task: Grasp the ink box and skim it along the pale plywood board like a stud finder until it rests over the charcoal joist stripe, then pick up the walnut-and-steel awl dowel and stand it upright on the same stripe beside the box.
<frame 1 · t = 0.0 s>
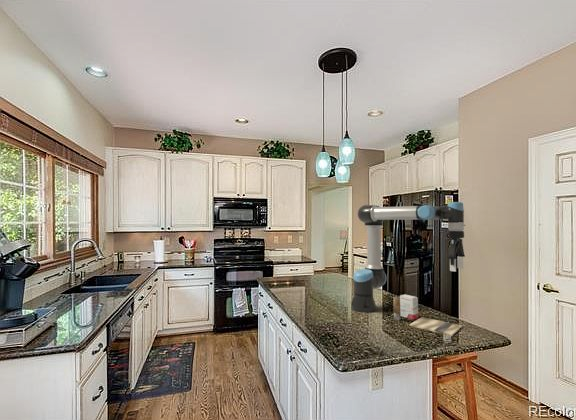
hand: (456, 269, 163), 28 cm above the countertop, fingers open, 13 cm apart
ink box: (409, 317, 171), on the countertop
subfloor board: (435, 326, 156), on the countertop
awl dowel: (396, 319, 166), on the countertop
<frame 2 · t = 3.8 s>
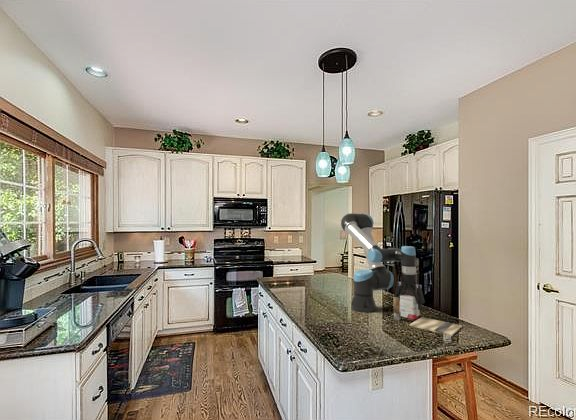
hand: (409, 313, 171), 2 cm above the countertop, fingers closed on ink box, 9 cm apart
ink box: (409, 317, 171), on the countertop, touching gripper
everything else where it was.
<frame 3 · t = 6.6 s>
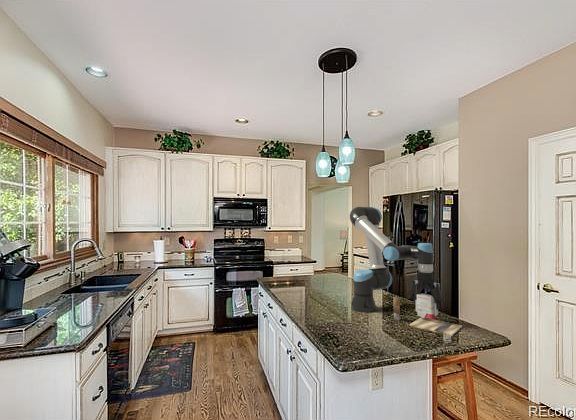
hand: (426, 313, 164), 4 cm above the countertop, fingers closed on ink box, 9 cm apart
ink box: (426, 317, 164), point 2 cm above the countertop, touching gripper
everything else where it was.
when the fingers open (3 cm above the countertop, at t = 9.5 s): ink box stays where it is, resting on subfloor board.
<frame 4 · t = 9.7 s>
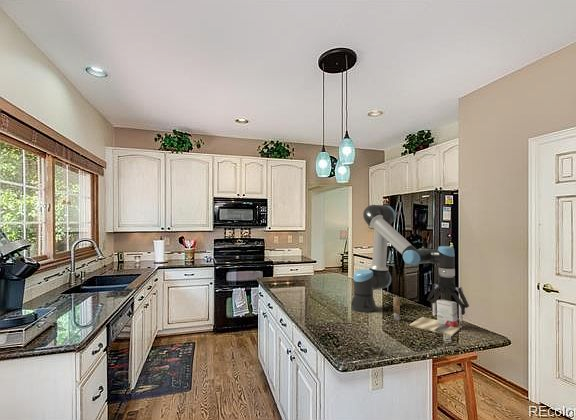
hand: (447, 317, 157), 4 cm above the countertop, fingers open, 12 cm apart
ink box: (447, 324, 157), point 1 cm above the countertop, touching subfloor board
everything else where it was.
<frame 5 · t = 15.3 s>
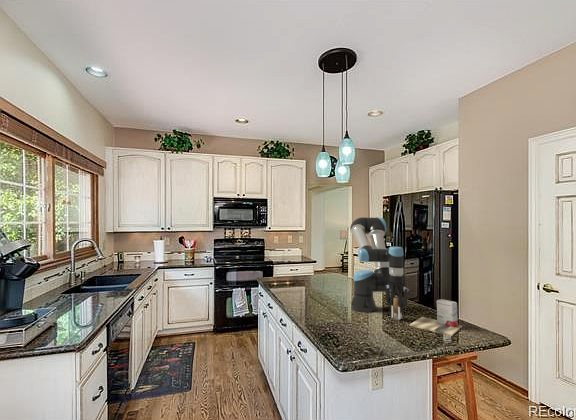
hand: (396, 317, 166), 1 cm above the countertop, fingers closed on awl dowel, 3 cm apart
awl dowel: (396, 319, 166), on the countertop, touching gripper
everything else where it was.
when the fingers open (3 cm above the countertop, at t = 22.1 s): awl dowel drops 1 cm, resting on subfloor board.
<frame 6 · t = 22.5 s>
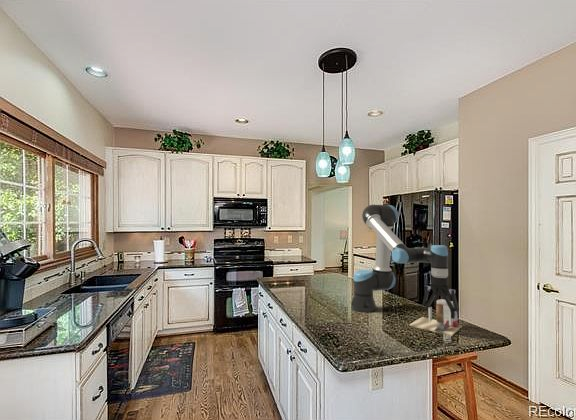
hand: (440, 322, 149), 4 cm above the countertop, fingers open, 9 cm apart
awl dowel: (440, 329, 149), point 1 cm above the countertop, touching subfloor board
everything else where it was.
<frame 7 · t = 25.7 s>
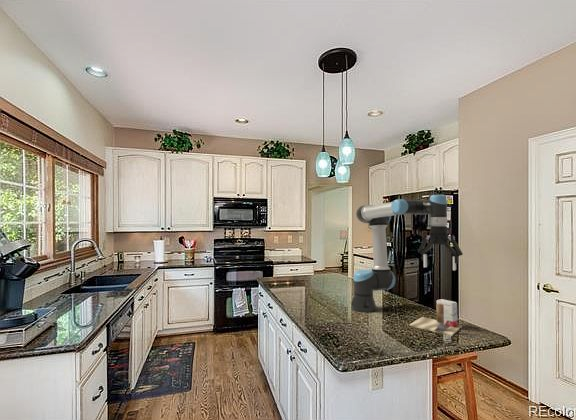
hand: (439, 268, 150), 31 cm above the countertop, fingers open, 13 cm apart
nothing on the countertop moved.
at the end: ink box inside the target area (0.6 cm from its centre), point 0.7 cm above the countertop; awl dowel 0.3 cm from the target spot, point 0.9 cm above the countertop; awl dowel tilted 1° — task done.
